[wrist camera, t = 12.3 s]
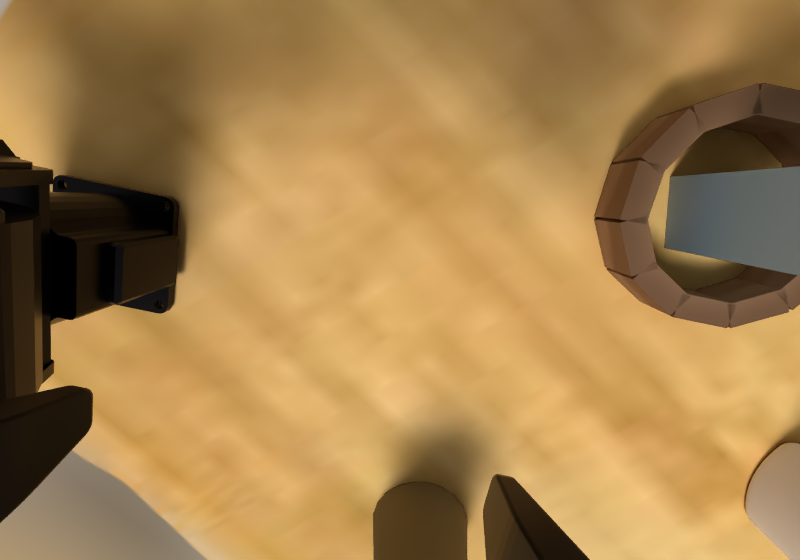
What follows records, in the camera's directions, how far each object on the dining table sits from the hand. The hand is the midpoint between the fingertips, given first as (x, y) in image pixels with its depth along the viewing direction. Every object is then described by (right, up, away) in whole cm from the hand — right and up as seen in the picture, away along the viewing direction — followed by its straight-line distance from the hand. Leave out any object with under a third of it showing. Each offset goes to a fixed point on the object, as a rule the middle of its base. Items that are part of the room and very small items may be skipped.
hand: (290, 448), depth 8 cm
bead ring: (+18, +7, +11) cm, 22 cm away
